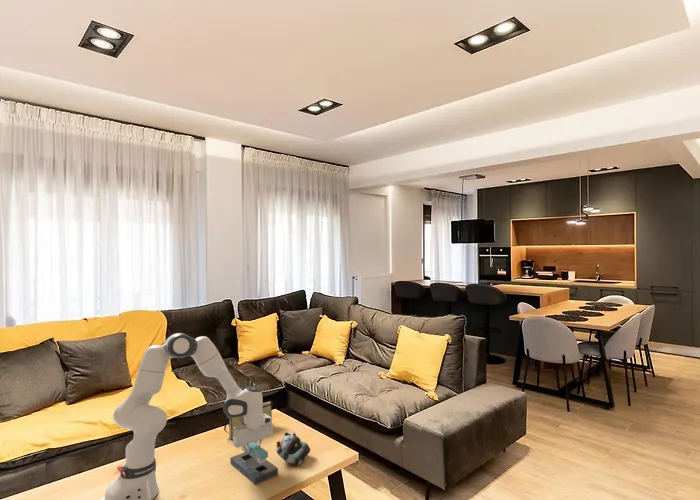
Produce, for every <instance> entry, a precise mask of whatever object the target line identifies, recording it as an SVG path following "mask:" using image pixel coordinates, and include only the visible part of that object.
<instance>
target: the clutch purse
mask: <svg viewBox="0 0 700 500" xmlns="http://www.w3.org/2000/svg"><path fill="white" fill-rule="evenodd" d="M273 404H274V403H273V402H272V401H271V400H269V401H266V402H263V406H262V412H263V414H266V415H269V416H270V417H271V418H272V416H273V415H272V408H273V407H272V406H273ZM272 419H273V418H272ZM272 421H273V420H272ZM272 421H271V422H272ZM272 423H273V422H272ZM243 424H244V416H240V417H235V418H230V417H228V416H226V420H225V424H224V427H223V429H224V432H226V433H227V434H228V437H229V440H230V441H231V440H233V436H234V435H233V431H234V429H235V428H236V427H237V426H241V425H243ZM227 425H228V431H227V429H226V428H227Z"/></svg>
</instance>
